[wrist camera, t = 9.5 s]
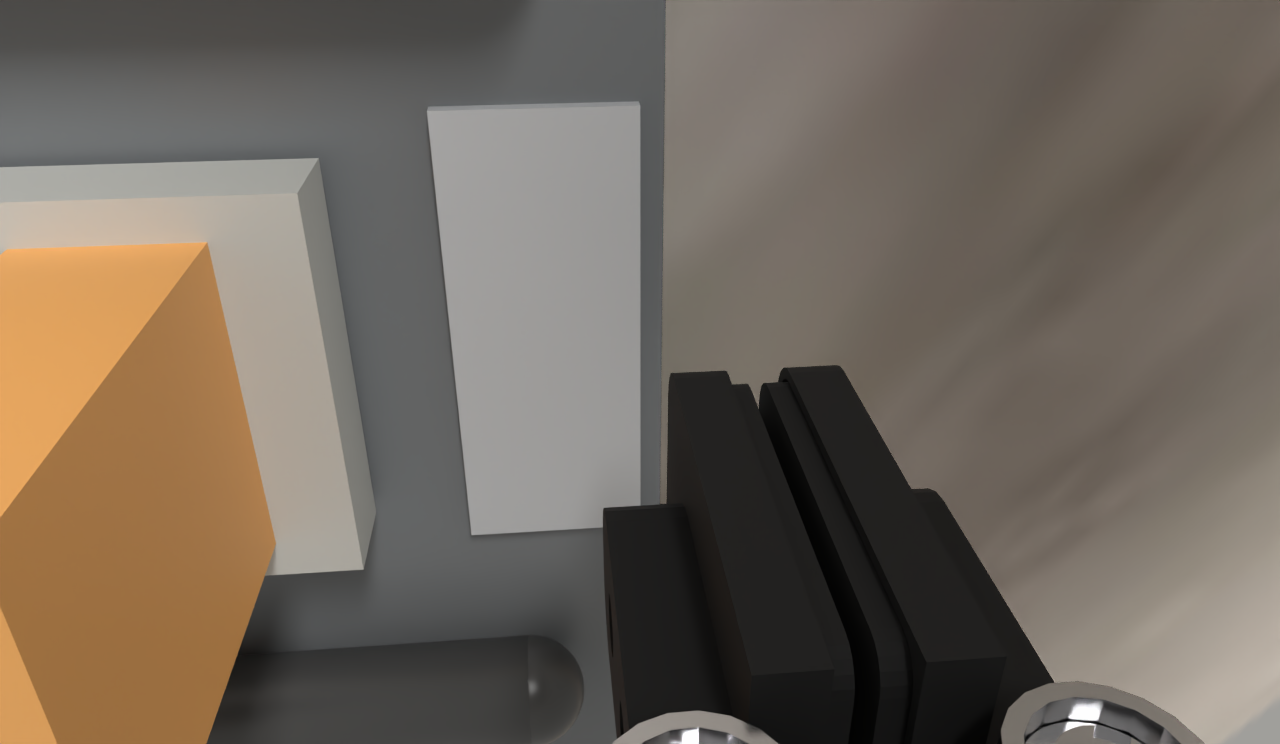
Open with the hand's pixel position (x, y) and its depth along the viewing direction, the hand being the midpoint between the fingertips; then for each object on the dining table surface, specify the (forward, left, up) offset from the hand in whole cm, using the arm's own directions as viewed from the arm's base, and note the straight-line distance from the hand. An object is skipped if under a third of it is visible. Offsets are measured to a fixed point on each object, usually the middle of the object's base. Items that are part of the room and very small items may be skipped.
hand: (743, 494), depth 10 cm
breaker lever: (+6, 0, -3) cm, 7 cm away
